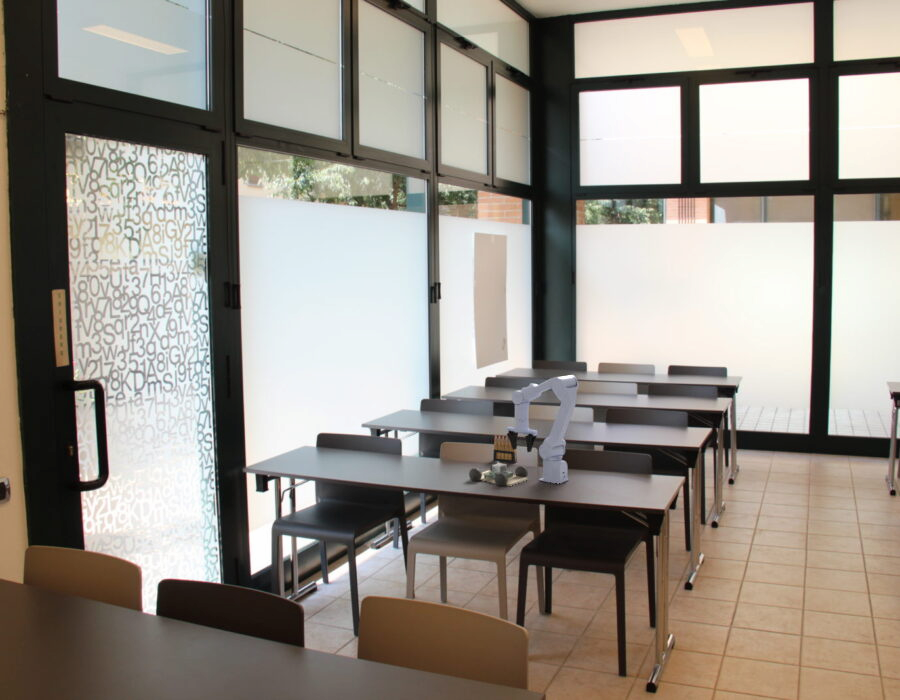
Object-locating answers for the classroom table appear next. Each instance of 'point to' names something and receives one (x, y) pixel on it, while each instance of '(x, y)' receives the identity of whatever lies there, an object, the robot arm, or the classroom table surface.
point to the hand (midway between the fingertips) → (521, 450)
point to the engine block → (499, 468)
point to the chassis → (500, 476)
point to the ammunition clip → (504, 450)
